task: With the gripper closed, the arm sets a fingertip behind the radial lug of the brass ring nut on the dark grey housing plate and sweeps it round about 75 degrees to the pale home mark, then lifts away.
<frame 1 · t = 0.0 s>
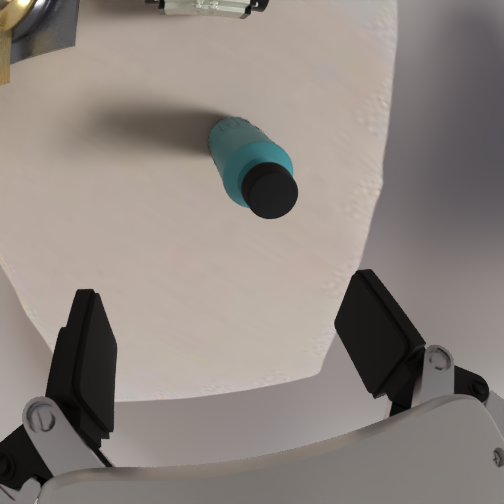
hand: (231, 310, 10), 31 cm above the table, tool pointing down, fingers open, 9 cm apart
pneumatic valve: (201, 6, 26), on the table
housing: (24, 4, 17), on the table
beverage bottle: (230, 136, 37), on the table
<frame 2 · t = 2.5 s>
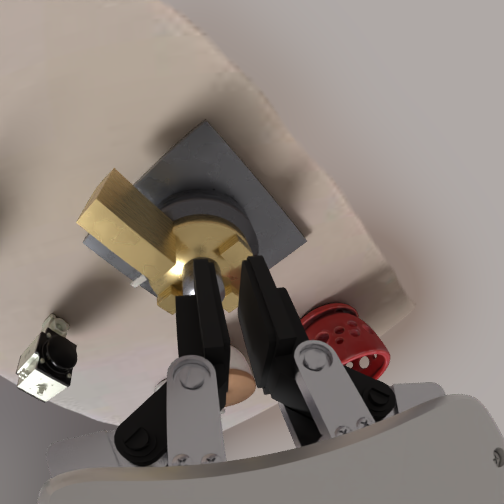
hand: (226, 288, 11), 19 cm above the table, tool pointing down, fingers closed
ring nut: (174, 257, 24), point 7 cm above the table, hinge at 0.0°
pneumatic valve: (54, 321, 34), on the table
plant pot: (321, 321, 46), on the table
housing: (196, 236, 32), on the table
lidded jar: (211, 350, 44), on the table
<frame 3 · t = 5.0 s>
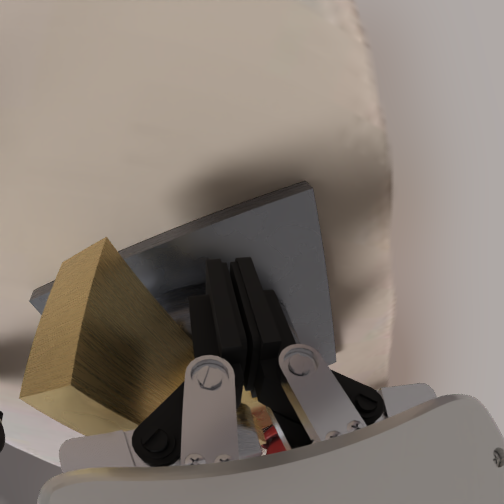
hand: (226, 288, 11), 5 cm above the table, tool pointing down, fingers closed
ring nut: (194, 411, 13), point 7 cm above the table, hinge at 4.4°, touching gripper
plant pot: (297, 421, 37), on the table
housing: (207, 336, 20), on the table
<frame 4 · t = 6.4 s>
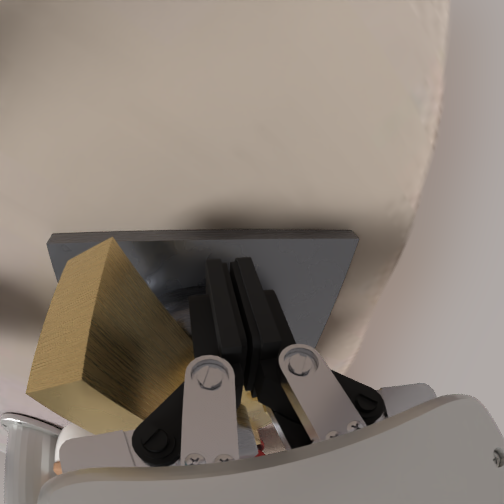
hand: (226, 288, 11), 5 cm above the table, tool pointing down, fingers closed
ring nut: (192, 410, 13), point 7 cm above the table, hinge at 26.2°, touching gripper
housing: (203, 337, 21), on the table
lidded jar: (98, 423, 27), on the table
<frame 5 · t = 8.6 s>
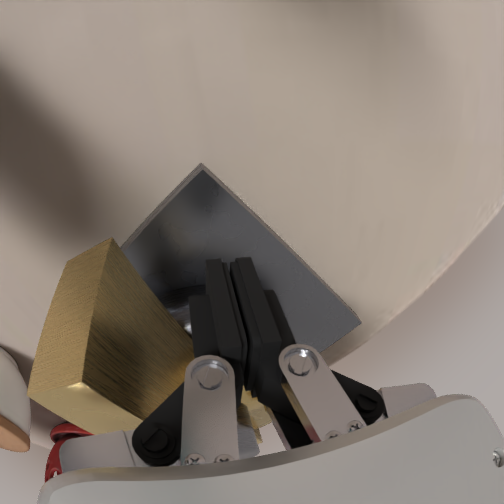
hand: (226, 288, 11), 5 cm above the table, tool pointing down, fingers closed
ring nut: (193, 409, 13), point 7 cm above the table, hinge at 68.6°, touching gripper
plant pot: (93, 432, 29), on the table
housing: (204, 336, 21), on the table
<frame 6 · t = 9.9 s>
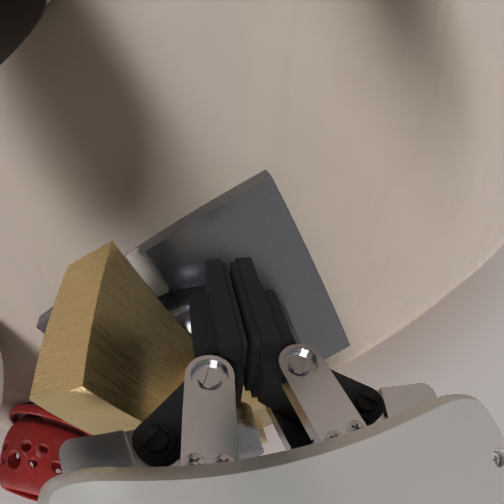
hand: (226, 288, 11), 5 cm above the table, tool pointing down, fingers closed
ring nut: (197, 410, 13), point 7 cm above the table, hinge at 83.4°, touching gripper
plant pot: (54, 417, 25), on the table
housing: (208, 337, 21), on the table
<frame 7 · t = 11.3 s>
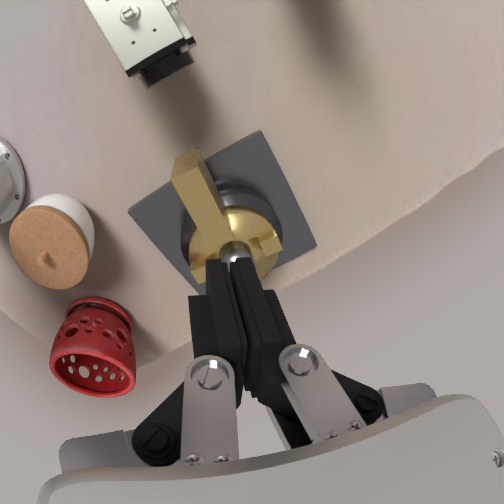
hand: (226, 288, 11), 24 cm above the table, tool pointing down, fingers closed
ring nut: (223, 234, 29), point 7 cm above the table, hinge at 83.4°
pneumatic valve: (155, 30, 22), on the table
plant pot: (102, 316, 43), on the table
housing: (228, 225, 37), on the table
lidded jar: (67, 217, 32), on the table
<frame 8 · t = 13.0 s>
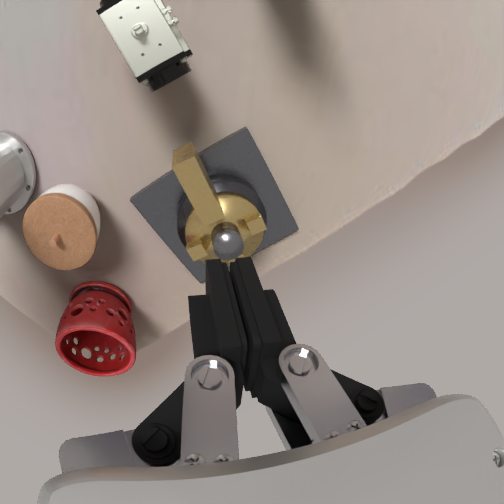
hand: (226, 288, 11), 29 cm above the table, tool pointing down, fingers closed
ring nut: (214, 216, 34), point 7 cm above the table, hinge at 83.4°
pneumatic valve: (155, 40, 26), on the table
plant pot: (103, 300, 47), on the table
housing: (218, 211, 42), on the table
lidded jar: (74, 206, 36), on the table
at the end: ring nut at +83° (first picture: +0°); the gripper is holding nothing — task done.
